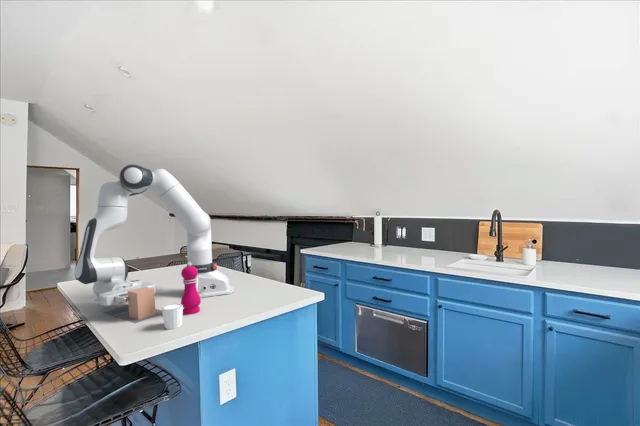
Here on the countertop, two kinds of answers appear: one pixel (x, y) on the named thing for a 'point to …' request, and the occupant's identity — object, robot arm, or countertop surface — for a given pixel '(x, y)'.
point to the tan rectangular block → (141, 302)
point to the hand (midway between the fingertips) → (138, 296)
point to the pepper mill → (190, 290)
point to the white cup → (172, 315)
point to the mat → (124, 314)
